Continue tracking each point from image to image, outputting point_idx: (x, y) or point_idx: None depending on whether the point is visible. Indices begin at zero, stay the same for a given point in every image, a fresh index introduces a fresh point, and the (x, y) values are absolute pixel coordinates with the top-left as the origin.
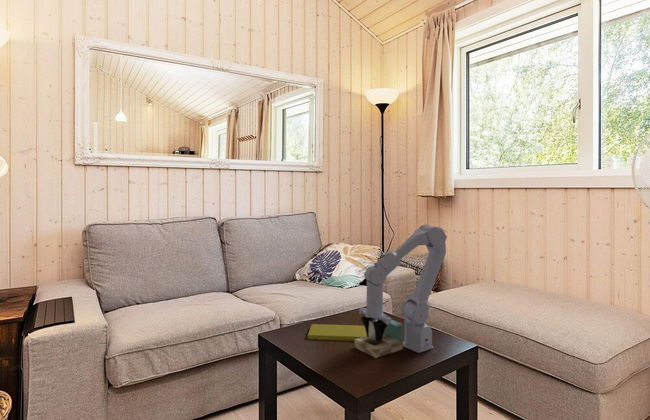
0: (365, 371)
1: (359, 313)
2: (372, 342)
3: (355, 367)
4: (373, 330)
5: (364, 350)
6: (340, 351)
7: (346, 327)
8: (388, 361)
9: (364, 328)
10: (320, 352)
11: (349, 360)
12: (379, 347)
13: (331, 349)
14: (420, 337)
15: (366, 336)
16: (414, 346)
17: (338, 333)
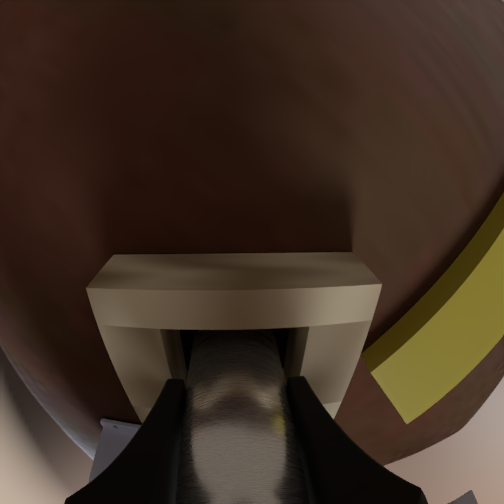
0: (19, 85)
1: (469, 493)
2: (207, 353)
3: (80, 47)
4: (194, 456)
5: (236, 260)
6: (369, 116)
7: (484, 343)
8: (54, 284)
9: (420, 400)
10: (420, 22)
11: (188, 58)
12: (108, 333)
13: (425, 99)
14: (92, 472)
15: (342, 377)
16: (130, 439)
17: (496, 273)
